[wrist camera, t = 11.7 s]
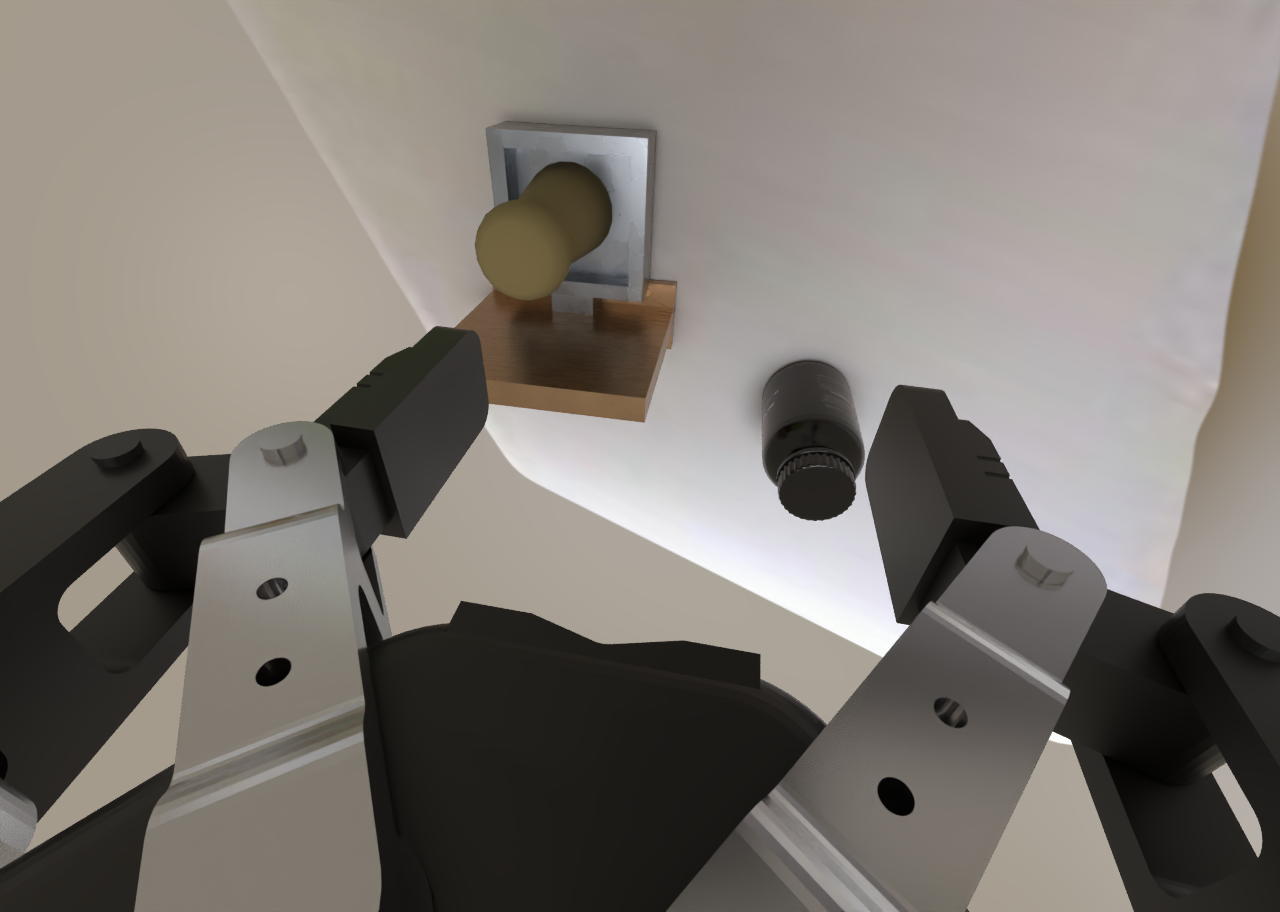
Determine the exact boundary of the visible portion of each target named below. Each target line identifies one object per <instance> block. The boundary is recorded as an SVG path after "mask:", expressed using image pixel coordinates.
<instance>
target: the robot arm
mask: <svg viewBox="0 0 1280 912" xmlns="http://www.w3.org/2000/svg"><path fill="white" fill-rule="evenodd" d="M488 407H489V400H488V392H487V384H486V377H485V370H484V363H483V356H482V349H481V342H480V339H479V336H478V334H477V333H476V332H475V331H473V330H465V329H457V328H449V327H441V326H436V327H434V328H433V329H432V330H430V331H429V332H428V333H427V334H426V335H425V336H424V337H423V338H422V339H421V340H420V341H419V342H418V343H417V344H415V345H414V346H413V347H408V348H406V349H404V350H402V351H400V352H397V353H395V354H393V355H391V356H389V357H387V358H385V359H384V360H383V361H382V362H381V363H380V364H378V365H377V366H376V367H375V368H374V369H373V370H372V371H371V372H370V375H366V376H365V377H364V378H363V379H361V380H360V381H359V382H358V383H357V387H352V388H351V389H350V390H349V391H348V392H347V393H346V394H344V395H343V396H342V397H341V398H340V399H339V400H338V401H337V402H335V403H334V404H333V405H332V406H331V407H330V408H329V409H328V410H326V411H325V412H324V413H323V414H322V415H321V416H320V417H319V418H318V419H316V420H315V421H314V422H307V421H296V422H287V423H281V424H277V425H273V426H270V427H267V428H264V429H262V430H259V431H257V432H255V433H253V434H251V435H250V436H248V437H247V438H245V439H244V440H242V441H241V442H240V443H239V444H238V445H237V446H236V447H235V448H234V450H233V451H232V453H231V454H225V455H224V454H223V455H208V456H192V457H187V455H186V453H185V451H184V449H183V448H182V446H181V444H180V442H179V441H178V439H177V437H176V436H175V435H174V434H172V433H171V432H168V431H166V430H161V429H137V430H130V431H125V432H121V433H117V434H113V435H110V436H107V437H104V438H102V439H99V440H96V441H94V442H92V443H90V444H88V445H86V446H84V447H82V448H81V449H79V450H77V451H76V452H74V453H73V454H71V455H70V456H68V457H67V458H65V459H64V460H62V461H61V462H59V463H58V464H56V465H55V466H53V467H52V468H50V469H49V470H47V471H46V472H44V473H43V474H41V475H40V476H38V477H37V478H36V479H34V480H33V481H31V482H29V483H28V484H26V485H25V486H23V487H22V488H20V489H19V490H18V491H16V492H14V493H13V494H12V495H10V496H9V497H7V498H6V499H4V500H3V501H1V502H0V912H969V911H968V909H967V906H968V904H969V902H970V900H971V898H972V896H973V894H974V892H975V890H976V888H977V886H978V883H979V882H980V880H981V878H982V876H983V873H984V871H985V869H986V867H987V865H988V863H989V861H990V859H991V857H992V855H993V853H994V851H995V849H996V847H997V845H998V842H999V840H1000V838H1001V836H1002V834H1003V832H1004V830H1005V828H1006V826H1007V824H1008V822H1009V820H1010V817H1011V816H1012V814H1013V812H1014V809H1015V807H1016V805H1017V803H1018V801H1019V799H1020V797H1021V795H1022V793H1023V791H1024V789H1025V787H1026V785H1027V783H1028V781H1029V779H1030V776H1031V774H1032V772H1033V770H1034V768H1035V766H1036V764H1037V762H1038V760H1039V758H1040V756H1041V754H1042V752H1043V750H1044V748H1045V745H1046V743H1047V741H1048V739H1049V737H1050V735H1051V733H1052V731H1053V732H1055V733H1057V734H1060V735H1062V736H1064V737H1066V738H1068V739H1071V742H1072V745H1073V747H1074V750H1075V753H1076V755H1077V758H1078V761H1079V763H1080V766H1081V769H1082V772H1083V775H1084V777H1085V780H1086V783H1087V785H1088V788H1089V791H1090V793H1091V796H1092V799H1093V802H1094V804H1095V807H1096V810H1097V812H1098V815H1099V818H1100V821H1101V823H1102V826H1103V829H1104V832H1105V834H1106V837H1107V840H1108V842H1109V845H1110V848H1111V851H1112V853H1113V856H1114V859H1115V861H1116V864H1117V867H1118V869H1119V872H1120V875H1121V878H1122V880H1123V883H1124V886H1125V889H1126V891H1127V894H1128V897H1129V899H1130V902H1131V905H1132V908H1133V910H1134V912H1280V617H1278V616H1277V615H1275V614H1273V613H1271V612H1269V611H1267V610H1265V609H1263V608H1261V607H1259V606H1256V605H1254V604H1252V603H1249V602H1247V601H1244V600H1241V599H1238V598H1235V597H1230V596H1227V595H1221V594H1214V593H1204V594H1198V595H1195V596H1193V597H1191V598H1190V599H1189V600H1188V601H1187V602H1186V603H1185V604H1183V605H1182V607H1180V608H1179V609H1178V610H1177V611H1176V612H1175V613H1171V612H1168V611H1165V610H1163V609H1160V608H1157V607H1154V606H1152V605H1149V604H1146V603H1143V602H1141V601H1138V600H1135V599H1132V598H1130V597H1127V596H1124V595H1121V594H1119V593H1116V592H1113V591H1111V590H1109V589H1107V584H1106V581H1105V578H1104V576H1103V574H1102V573H1101V571H1100V570H1099V568H1098V567H1097V566H1096V565H1095V563H1094V562H1093V561H1092V560H1091V559H1090V558H1089V557H1088V556H1086V555H1085V554H1084V553H1083V552H1081V551H1080V550H1079V549H1077V548H1076V547H1074V546H1073V545H1071V544H1070V543H1068V542H1066V541H1064V540H1063V539H1061V538H1058V537H1056V536H1054V535H1052V534H1049V533H1046V532H1044V531H1040V530H1039V528H1038V526H1037V524H1036V522H1035V520H1034V519H1033V517H1032V515H1031V513H1030V511H1029V509H1028V508H1027V506H1026V504H1025V502H1024V500H1023V498H1022V497H1021V495H1020V493H1019V491H1018V489H1017V487H1016V486H1015V484H1014V482H1013V480H1012V479H1009V476H1010V475H1009V473H1008V471H1007V469H1006V467H1005V465H1004V464H1003V463H1001V462H1000V460H1001V458H1000V456H999V454H998V453H997V451H996V449H995V447H994V445H993V443H992V442H991V440H990V439H989V438H988V437H987V436H986V435H985V434H984V433H982V432H981V431H980V430H979V429H978V428H977V427H975V426H974V425H973V424H972V423H971V422H970V421H967V420H960V419H958V418H957V416H956V414H955V412H954V410H953V408H952V406H951V404H950V402H949V399H948V397H947V395H946V394H945V392H944V391H943V390H938V389H930V388H922V387H914V386H906V385H898V386H897V387H896V388H895V389H894V390H893V392H892V394H891V396H890V399H889V401H888V404H887V407H886V409H885V412H884V415H883V417H882V420H881V423H880V425H879V428H878V430H877V433H876V436H875V438H874V441H873V444H872V446H871V449H870V452H869V455H868V459H867V464H866V472H865V482H866V488H867V492H868V497H869V501H870V506H871V510H872V515H873V519H874V524H875V528H876V533H877V537H878V542H879V546H880V550H881V555H882V559H883V564H884V568H885V573H886V577H887V582H888V586H889V591H890V595H891V600H892V604H893V609H894V613H895V618H896V622H897V623H900V624H906V625H910V626H909V627H908V628H907V629H906V630H905V632H904V633H903V634H902V635H901V636H900V638H899V639H898V640H897V641H896V643H895V644H894V645H893V646H892V647H891V649H890V650H889V651H888V652H887V653H886V655H885V656H884V657H883V658H882V659H881V661H880V662H879V663H878V664H877V666H876V667H875V668H874V669H873V670H872V672H871V673H870V674H869V675H868V676H867V678H866V679H865V680H864V681H863V682H862V684H861V685H860V686H859V687H858V689H857V690H856V691H855V692H854V693H853V695H852V696H851V697H850V698H849V699H848V701H847V702H846V703H845V704H844V705H843V707H842V708H841V709H840V710H839V711H838V713H837V714H836V715H835V716H834V718H833V719H832V720H831V721H830V722H829V724H828V725H826V723H824V721H823V720H821V719H820V718H819V717H818V716H817V715H816V714H815V713H814V712H812V711H811V710H810V709H809V708H808V707H807V706H805V705H804V704H802V703H801V702H800V701H798V700H797V699H796V698H794V697H793V696H791V695H790V694H788V693H786V692H785V691H783V690H781V689H779V688H778V687H776V686H774V685H772V684H770V683H768V682H766V681H764V680H761V679H760V654H756V653H750V652H745V651H739V650H734V649H728V648H722V647H716V646H711V645H706V644H700V643H695V642H689V641H666V642H646V643H627V644H601V643H597V642H594V641H592V640H590V639H588V638H585V637H583V636H581V635H579V634H576V633H574V632H572V631H570V630H567V629H565V628H563V627H561V626H559V625H556V624H554V623H552V622H550V621H547V620H545V619H543V618H541V617H538V616H536V615H534V614H532V613H526V612H520V611H514V610H509V609H503V608H498V607H493V606H487V605H481V604H476V603H470V602H464V601H461V603H460V604H459V606H458V608H457V610H456V612H455V614H454V616H453V618H452V620H451V622H450V623H448V624H438V625H432V626H426V627H422V628H418V629H414V630H410V631H406V632H404V633H401V634H398V635H395V636H392V632H391V628H390V623H389V618H388V613H387V608H386V604H385V598H384V593H383V588H382V583H381V579H380V573H379V569H378V563H377V558H376V555H375V552H374V549H373V546H372V544H373V543H374V541H375V540H376V539H377V537H378V536H379V535H380V534H382V535H388V536H394V537H400V538H406V539H407V537H408V536H409V534H410V533H411V531H412V530H413V529H414V527H415V526H416V524H417V523H418V521H419V520H420V518H421V517H422V515H423V514H424V512H425V511H426V510H427V508H428V507H429V505H430V504H431V502H432V501H433V500H434V498H435V496H436V495H437V494H438V492H439V491H440V489H441V488H442V487H443V485H444V484H445V482H446V481H447V479H448V478H449V476H450V475H451V473H452V472H453V471H454V469H455V468H456V466H457V465H458V463H459V462H460V461H461V459H462V457H463V456H464V455H465V453H466V452H467V450H468V449H469V448H470V446H471V444H472V443H473V442H474V440H475V439H476V437H477V436H478V434H479V433H480V431H481V430H482V428H483V427H484V425H485V422H486V419H487V415H488ZM114 546H115V547H116V548H117V549H118V550H119V552H120V553H121V555H122V556H123V557H124V558H125V560H126V561H127V562H128V563H129V565H130V566H131V568H132V569H133V570H134V572H133V573H132V574H131V575H130V576H129V577H128V578H126V580H124V581H123V582H122V583H121V584H120V585H119V586H118V587H117V588H116V589H115V590H114V591H113V592H112V593H110V595H108V596H107V597H106V598H105V599H104V600H103V601H102V602H101V603H100V604H99V605H98V606H97V607H96V608H95V609H94V610H92V611H91V612H90V613H89V614H88V615H87V616H86V617H85V618H84V619H83V620H82V621H81V622H80V623H79V624H78V625H77V626H76V627H74V628H73V629H72V630H71V631H70V632H68V631H67V630H66V629H65V628H64V627H63V625H62V624H61V623H60V621H59V619H58V614H57V612H58V604H59V601H60V599H61V597H62V595H63V593H64V592H65V591H66V589H67V588H68V587H69V586H70V585H71V584H72V583H73V582H74V581H75V580H77V579H78V578H79V577H80V576H81V575H82V574H83V573H85V572H86V571H87V570H88V569H89V568H90V567H91V566H93V565H94V564H95V563H96V562H97V561H98V560H99V559H101V558H102V557H103V556H104V555H105V554H106V553H108V552H109V551H110V550H111V549H112V548H113V547H114ZM187 646H188V654H187V662H186V671H185V679H184V688H183V697H182V706H181V714H180V723H179V732H178V742H177V749H176V758H175V764H173V765H171V766H170V767H168V768H167V769H165V770H163V771H162V772H160V773H159V774H157V775H155V776H153V777H152V778H150V779H148V780H147V781H145V782H143V783H142V784H140V785H138V786H137V787H135V788H133V789H132V790H130V791H128V792H127V793H125V794H123V795H122V796H120V797H119V798H117V799H115V800H113V801H112V802H110V803H108V804H107V805H105V806H103V807H102V808H100V809H98V810H97V811H95V812H93V813H92V814H90V815H88V816H87V817H85V818H84V819H82V820H80V821H78V822H77V823H75V824H73V825H72V826H70V827H68V828H67V829H65V830H64V831H62V832H60V833H59V834H57V835H55V836H53V837H52V838H50V839H49V840H47V841H45V842H44V843H42V844H40V845H39V846H37V847H35V848H34V849H32V850H30V851H29V852H27V853H25V851H26V849H27V848H28V846H29V844H30V842H31V840H32V837H33V835H34V832H35V829H36V824H37V823H38V822H39V820H40V819H41V818H42V817H43V816H44V815H45V813H46V812H47V811H48V810H49V809H50V807H51V806H52V805H53V804H54V803H55V802H56V800H57V799H58V798H59V797H60V796H61V794H62V793H63V792H64V791H65V790H66V789H67V787H68V786H69V785H70V784H71V783H72V782H73V780H74V779H75V778H76V777H77V776H78V775H79V773H80V772H81V771H82V770H83V769H84V767H85V766H86V765H87V764H88V763H89V762H90V760H91V759H92V758H93V757H94V756H95V754H96V753H97V752H98V751H99V750H100V749H101V747H102V746H103V745H104V744H105V743H106V741H107V740H108V739H109V738H110V737H111V736H112V734H113V733H114V732H115V731H116V730H117V729H118V727H119V726H120V725H121V724H122V723H123V722H124V720H125V719H126V718H127V717H128V715H129V714H130V713H131V712H132V711H133V710H134V709H135V707H136V706H137V705H138V704H139V703H140V701H141V700H142V699H143V698H144V697H145V696H146V694H147V693H148V692H149V691H150V690H151V689H152V687H153V686H154V685H155V684H156V683H157V681H158V680H159V679H160V678H161V677H162V676H163V674H164V673H165V672H166V671H167V670H168V669H169V667H170V666H171V665H172V664H173V663H174V661H175V660H176V659H177V658H178V657H179V656H180V654H181V653H182V652H183V651H184V650H185V648H186V647H187ZM1225 763H1227V764H1228V766H1229V768H1230V769H1231V771H1232V773H1233V775H1234V776H1235V778H1236V780H1237V782H1238V784H1239V785H1240V787H1241V789H1242V791H1243V792H1244V794H1245V796H1246V797H1247V799H1248V801H1249V803H1250V805H1251V807H1252V808H1253V810H1254V812H1255V814H1256V816H1257V818H1258V821H1259V824H1260V827H1261V831H1262V840H1263V841H1262V849H1261V854H1260V856H1259V858H1258V857H1257V856H1256V854H1255V852H1254V850H1253V848H1252V846H1251V845H1250V843H1249V841H1248V839H1247V837H1246V835H1245V833H1244V831H1243V830H1242V828H1241V826H1240V824H1239V822H1238V820H1237V819H1236V817H1235V815H1234V813H1233V811H1232V809H1231V808H1230V806H1229V804H1228V802H1227V800H1226V798H1225V797H1224V795H1223V793H1222V791H1221V789H1220V787H1219V785H1218V784H1217V782H1216V780H1215V778H1214V776H1213V774H1212V772H1213V771H1214V770H1216V769H1217V768H1219V767H1220V766H1222V765H1223V764H1225ZM24 853H25V854H24Z"/></svg>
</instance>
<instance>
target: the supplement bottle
mask: <svg viewBox="0 0 1280 912" xmlns="http://www.w3.org/2000/svg"><path fill="white" fill-rule="evenodd" d="M762 460H763V467H764V470H765V472H766V474H767V476H768V478H769V479H770V480H771V482H772V483H773V484H774V485H775V486H777V487H778V495H779V499H780V501H781V504H782V505H783V506H784V508H785V509H786V510H788V512H789V513H791V514H793V515H794V516H796V517H799V518H801V519H806V520H813V521H817V520H822V521H823V520H825V519H831V518H832V517H837V516H838V515H840V514H842V513H843V512H844V511H846V510H848V507H849V506H851V505H852V502H853V501H854V500H855V495H856V483H855V480H856V478H857V477H858V475H859V474H860V472H861V470H862V468H863V465H864V460H865V450H864V444H863V440H862V436H861V432H860V427H859V423H858V419H857V415H856V411H855V407H854V403H853V399H852V395H851V391H850V388H849V385H848V383H847V381H846V380H845V378H844V377H843V376H842V375H841V374H840V373H839V372H838V371H837V370H835V369H834V368H832V367H830V366H828V365H825V364H822V363H817V362H802V363H797V364H793V365H790V366H788V367H786V368H784V369H782V370H781V371H779V372H778V373H777V374H775V375H774V376H773V377H772V379H771V380H770V381H769V383H768V384H767V386H766V388H765V390H764V394H763V399H762Z"/></svg>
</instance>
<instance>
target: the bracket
mask: <svg viewBox="0 0 1280 912" xmlns="http://www.w3.org/2000/svg"><path fill="white" fill-rule="evenodd" d="M656 133H657V131H653V130H637V129H621V128H605V127H589V126H573V125H557V124H541V123H525V122H509V121H506V122H503V123H499V124H496V125H493V126H490V127H487V128H486V136H487V145H488V154H489V162H490V171H491V180H492V189H493V197H494V206H495V207H496V206H497V205H499V204H501V203H504V202H507V201H511V200H514V199H515V200H517V199H518V198H519V197H520V195H521V194H522V193H523V191H524V190H525V189H526V187H527V186H528V184H529V183H530V182H531V180H532V179H533V178H534V176H535V175H536V174H537V173H538V172H539V171H541V170H542V169H543V168H544V167H545V166H547V165H550V164H553V163H556V162H559V161H565V162H575V163H577V164H580V165H582V166H585V167H587V168H588V169H590V170H591V171H592V172H593V173H594V174H595V175H597V176H598V177H599V178H600V180H601V181H602V183H603V184H604V186H605V187H606V189H607V191H608V193H609V197H610V200H611V203H612V224H611V227H610V230H609V234H608V235H607V237H606V238H605V240H604V241H603V243H602V244H601V245H600V246H599V247H597V248H596V249H594V250H593V251H592V252H590V253H589V254H587V255H585V256H584V257H582V258H580V259H579V260H577V261H575V262H574V263H572V264H571V265H570V268H569V272H568V275H567V276H566V278H565V279H564V280H563V282H562V283H561V285H560V286H559V288H558V289H556V290H555V291H554V292H552V293H551V294H549V295H548V296H546V297H543V298H539V299H535V300H519V299H515V298H513V297H510V296H508V295H505V294H503V293H502V292H501V291H500V290H498V289H497V288H496V287H494V286H493V292H492V293H491V294H489V295H488V296H487V297H486V298H485V299H484V300H483V301H482V302H481V303H480V304H479V305H478V306H477V307H476V308H475V309H474V310H473V311H472V312H471V313H469V314H468V315H467V316H466V317H465V318H464V319H463V320H462V321H461V322H460V323H459V324H458V325H457V326H456V327H455V328H457V329H465V330H473V331H475V332H476V333H477V334H478V336H479V339H480V342H481V349H482V356H483V363H484V370H485V377H486V384H487V392H488V400H489V404H497V405H505V406H513V407H521V408H530V409H538V410H546V411H554V412H562V413H571V414H579V415H587V416H595V417H603V418H612V419H620V420H628V421H636V422H645V419H646V416H647V412H648V409H649V405H650V402H651V399H652V395H653V392H654V389H655V385H656V382H657V379H658V375H659V372H660V368H661V365H662V362H663V358H664V355H665V352H666V349H671V347H672V339H673V326H674V312H675V299H676V285H677V282H670V281H659V280H650V266H651V244H652V222H653V200H654V178H655V155H656Z"/></svg>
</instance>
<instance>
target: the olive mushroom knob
mask: <svg viewBox="0 0 1280 912" xmlns="http://www.w3.org/2000/svg"><path fill="white" fill-rule="evenodd" d="M611 224H612V203H611V200H610V197H609V193H608V191H607V189H606V187H605V186H604V184H603V183H602V181H601V180H600V178H599V177H598V176H597V175H595V174H594V173H593V172H592V171H591V170H590V169H588V168H587V167H585V166H582V165H580V164H577V163H575V162H565V161H559V162H556V163H553V164H550V165H547V166H545V167H544V168H543V169H542V170H541V171H539V172H538V173H537V174H536V175H535V176H534V178H533V179H532V180H531V182H530V183H529V184H528V186H527V187H526V189H525V190H524V191H523V193H522V194H521V195H520V197H519V198H518V199H517V200H515V199H514V200H511V201H507V202H504V203H501V204H499V205H497V206H496V207H495V208H493V209H492V210H491V211H490V212H489V213H487V214H486V215H485V217H484V219H483V221H482V223H481V224H480V226H479V228H478V231H477V235H476V242H475V249H476V255H477V261H478V263H479V265H480V267H481V270H482V272H483V274H484V275H485V276H486V278H487V279H488V280H489V281H490V283H491V284H492V285H493V286H494V287H496V288H497V289H498V290H500V291H501V292H502V293H503V294H505V295H508V296H510V297H513V298H515V299H519V300H535V299H539V298H543V297H546V296H548V295H549V294H551V293H552V292H554V291H555V290H556V289H558V288H559V286H560V285H561V283H562V282H563V280H564V279H565V278H566V276H567V275H568V272H569V268H570V265H571V264H572V263H574V262H575V261H577V260H579V259H580V258H582V257H584V256H585V255H587V254H589V253H590V252H592V251H593V250H594V249H596V248H597V247H599V246H600V245H601V244H602V243H603V241H604V240H605V238H606V237H607V235H608V234H609V230H610V227H611Z"/></svg>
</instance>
